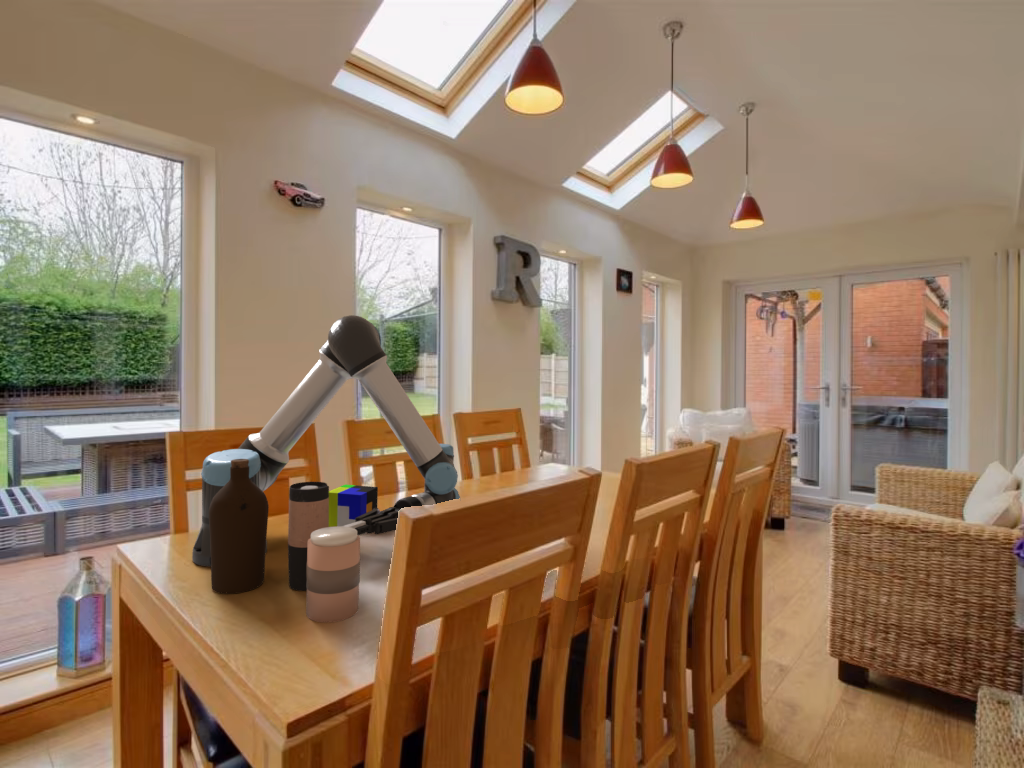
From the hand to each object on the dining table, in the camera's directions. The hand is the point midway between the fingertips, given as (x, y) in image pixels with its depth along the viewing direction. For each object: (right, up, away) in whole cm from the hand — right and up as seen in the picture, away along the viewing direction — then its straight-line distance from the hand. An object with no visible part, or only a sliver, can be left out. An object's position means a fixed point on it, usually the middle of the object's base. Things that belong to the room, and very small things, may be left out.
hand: (340, 534), depth 116 cm
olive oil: (-18, -8, -8) cm, 21 cm away
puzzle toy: (-7, -7, +33) cm, 35 cm away
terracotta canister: (+4, -9, -18) cm, 21 cm away
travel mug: (-5, -8, -7) cm, 12 cm away
